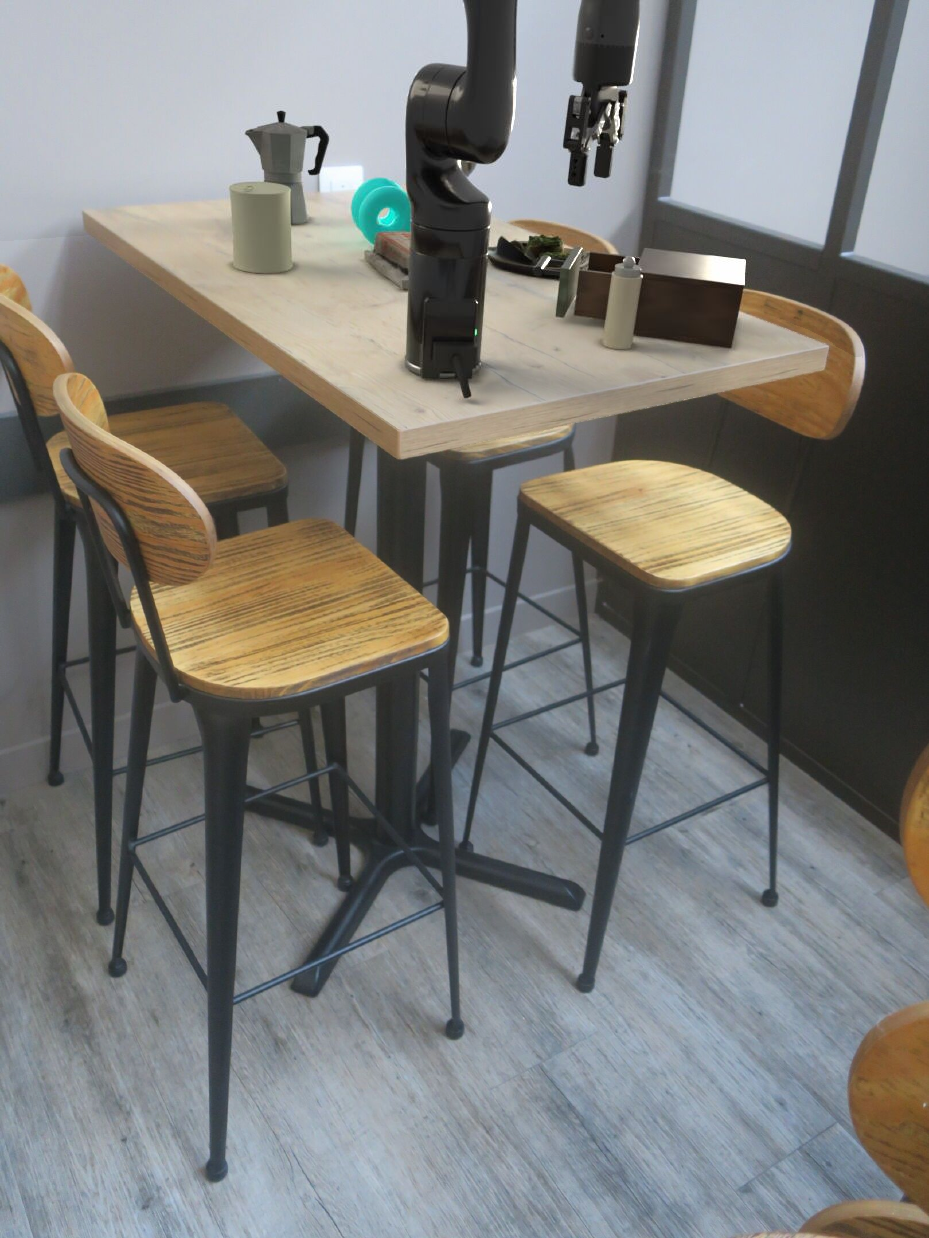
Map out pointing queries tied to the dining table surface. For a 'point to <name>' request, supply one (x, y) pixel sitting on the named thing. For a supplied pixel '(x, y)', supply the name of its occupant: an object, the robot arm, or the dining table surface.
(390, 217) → the donuts
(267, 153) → the coffeepot
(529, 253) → the salad plate
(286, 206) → the can
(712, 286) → the cabinet
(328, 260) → the dining table surface
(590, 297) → the drawer
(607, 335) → the pepper mill
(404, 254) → the packaged product
